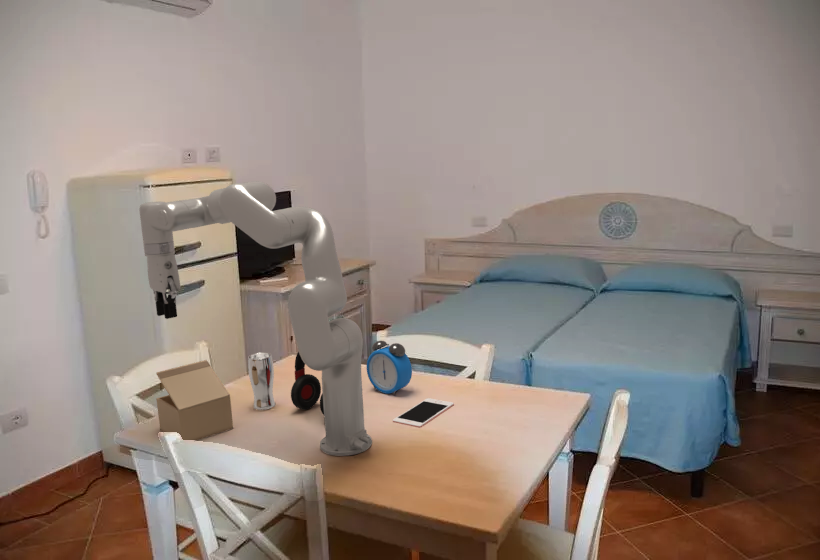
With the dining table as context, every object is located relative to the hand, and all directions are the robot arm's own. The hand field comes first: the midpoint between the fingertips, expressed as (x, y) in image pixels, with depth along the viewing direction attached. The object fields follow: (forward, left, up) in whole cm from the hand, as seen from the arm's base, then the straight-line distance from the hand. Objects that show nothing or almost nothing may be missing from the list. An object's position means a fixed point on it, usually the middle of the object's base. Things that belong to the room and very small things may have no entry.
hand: (167, 315), depth 186 cm
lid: (-12, 0, -17) cm, 21 cm away
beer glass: (-10, -21, -30) cm, 38 cm away
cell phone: (-48, -48, -30) cm, 74 cm away
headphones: (-27, -29, -30) cm, 49 cm away
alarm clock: (-28, -53, -30) cm, 67 cm away
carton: (-11, 0, -29) cm, 31 cm away
